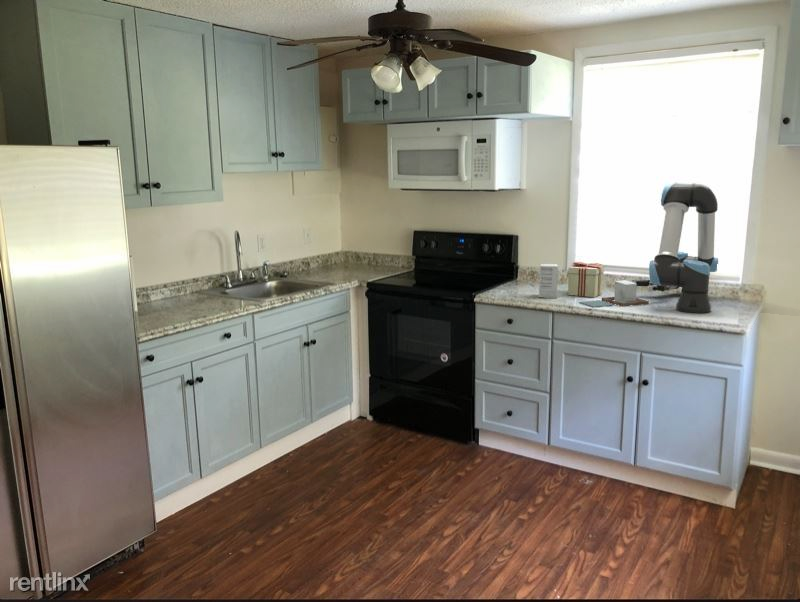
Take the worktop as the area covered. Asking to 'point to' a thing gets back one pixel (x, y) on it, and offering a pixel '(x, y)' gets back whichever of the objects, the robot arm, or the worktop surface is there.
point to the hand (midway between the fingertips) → (636, 287)
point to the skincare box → (625, 291)
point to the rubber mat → (596, 303)
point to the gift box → (585, 279)
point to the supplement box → (548, 280)
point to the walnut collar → (640, 301)
